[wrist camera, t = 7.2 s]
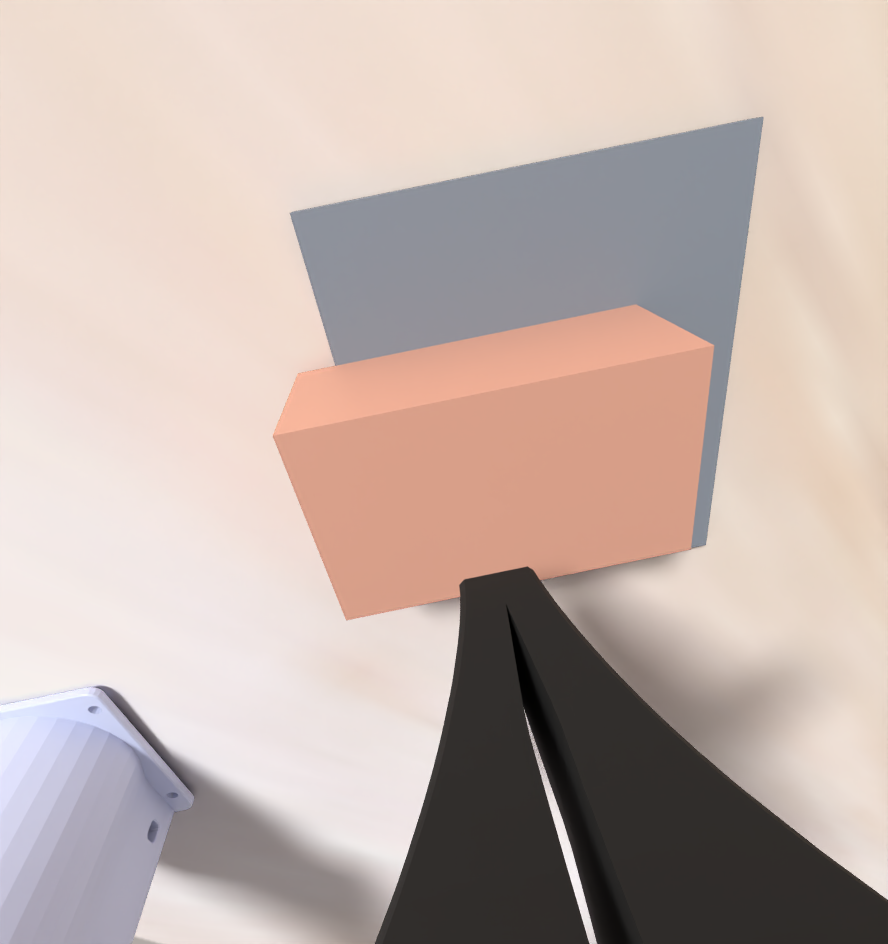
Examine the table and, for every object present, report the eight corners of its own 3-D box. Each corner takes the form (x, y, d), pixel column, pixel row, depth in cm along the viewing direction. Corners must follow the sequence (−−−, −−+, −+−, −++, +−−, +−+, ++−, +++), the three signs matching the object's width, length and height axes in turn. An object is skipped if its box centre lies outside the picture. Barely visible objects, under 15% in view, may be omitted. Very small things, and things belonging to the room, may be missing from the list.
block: (352, 533, 18) (631, 476, 18) (346, 620, 14) (690, 549, 14) (298, 373, 15) (636, 304, 15) (272, 435, 11) (714, 345, 11)
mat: (700, 538, 20) (705, 544, 20) (407, 598, 20) (407, 606, 20) (753, 118, 13) (763, 116, 12) (292, 211, 13) (289, 213, 12)
